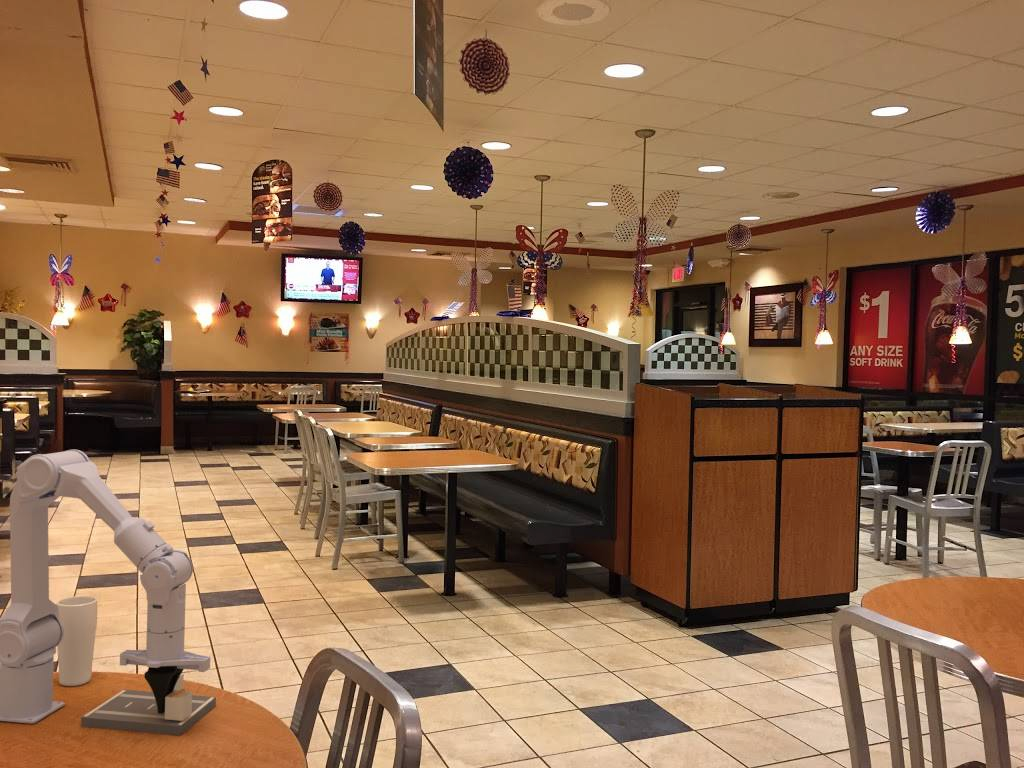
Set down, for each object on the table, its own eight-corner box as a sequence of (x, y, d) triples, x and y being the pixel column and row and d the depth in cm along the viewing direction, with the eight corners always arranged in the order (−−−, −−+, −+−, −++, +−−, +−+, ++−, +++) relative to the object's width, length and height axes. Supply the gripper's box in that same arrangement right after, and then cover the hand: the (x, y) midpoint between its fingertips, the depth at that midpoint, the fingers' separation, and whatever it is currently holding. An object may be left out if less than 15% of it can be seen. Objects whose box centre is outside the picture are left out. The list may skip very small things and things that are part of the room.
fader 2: (164, 719, 137) (165, 695, 137) (174, 711, 140) (174, 688, 140) (182, 720, 136) (183, 696, 136) (191, 713, 139) (192, 689, 139)
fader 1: (157, 699, 144) (158, 676, 144) (166, 693, 147) (167, 670, 147) (174, 701, 144) (174, 678, 144) (183, 694, 147) (183, 672, 147)
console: (81, 726, 138) (81, 716, 138) (123, 697, 149) (123, 689, 149) (180, 735, 136) (180, 725, 135) (215, 705, 147) (216, 696, 147)
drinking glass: (78, 690, 152) (80, 607, 152) (45, 686, 153) (47, 603, 153) (104, 677, 159) (105, 597, 158) (72, 673, 160) (73, 594, 160)
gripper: (109, 632, 135) (107, 717, 135) (196, 639, 133) (193, 725, 134) (134, 619, 142) (132, 700, 142) (217, 625, 140) (214, 707, 141)
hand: (163, 711), depth 138 cm, fingers closed
